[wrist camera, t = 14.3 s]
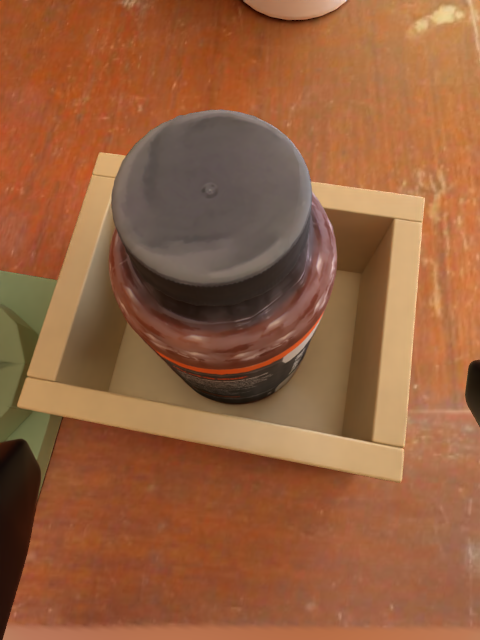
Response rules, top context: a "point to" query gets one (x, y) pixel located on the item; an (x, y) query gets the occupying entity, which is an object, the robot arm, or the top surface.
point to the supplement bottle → (221, 252)
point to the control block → (23, 361)
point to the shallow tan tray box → (288, 402)
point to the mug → (294, 8)
